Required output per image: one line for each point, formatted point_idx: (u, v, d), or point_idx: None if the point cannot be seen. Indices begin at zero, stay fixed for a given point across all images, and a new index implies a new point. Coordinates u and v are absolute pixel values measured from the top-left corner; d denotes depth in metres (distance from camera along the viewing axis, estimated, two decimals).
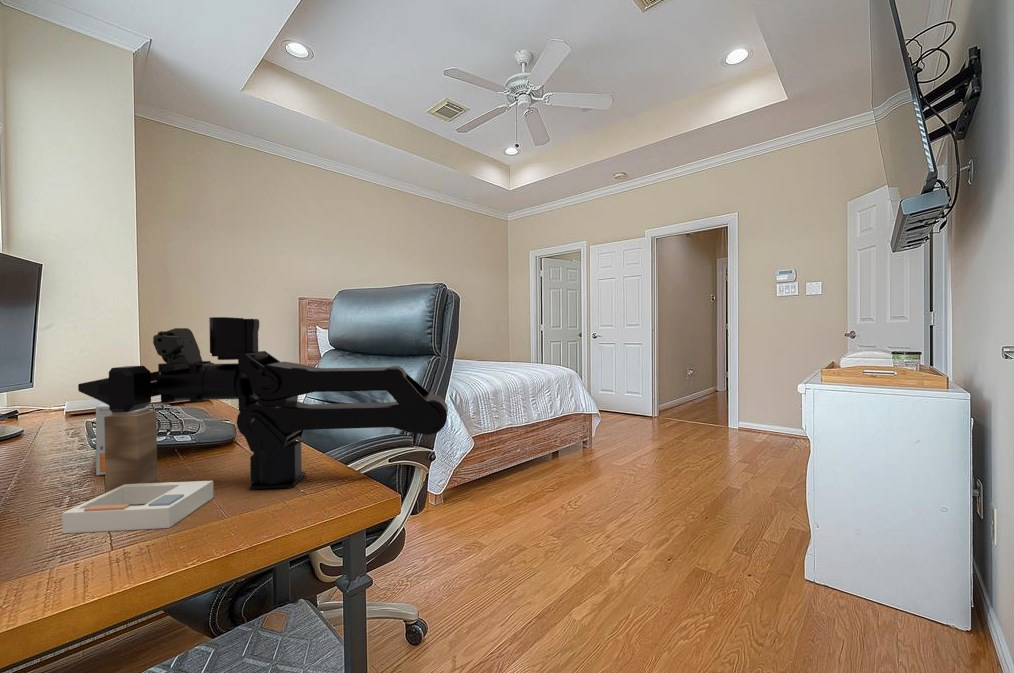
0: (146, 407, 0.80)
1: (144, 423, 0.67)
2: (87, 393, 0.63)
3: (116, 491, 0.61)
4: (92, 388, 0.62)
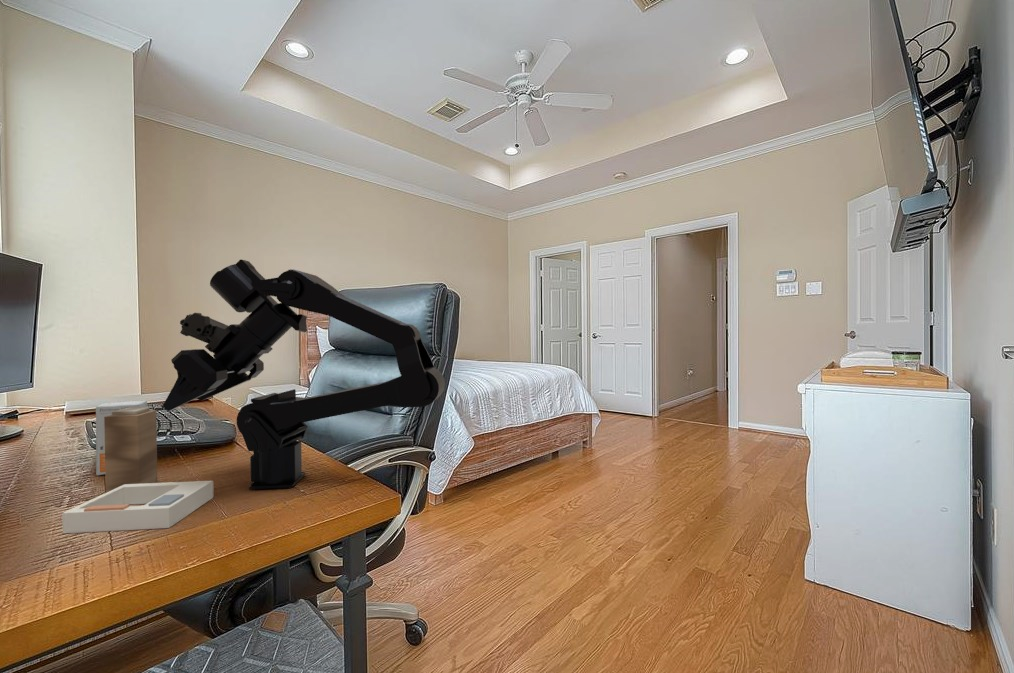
0: (146, 407, 0.80)
1: (144, 423, 0.67)
2: (175, 405, 0.63)
3: (116, 491, 0.61)
4: (175, 397, 0.63)
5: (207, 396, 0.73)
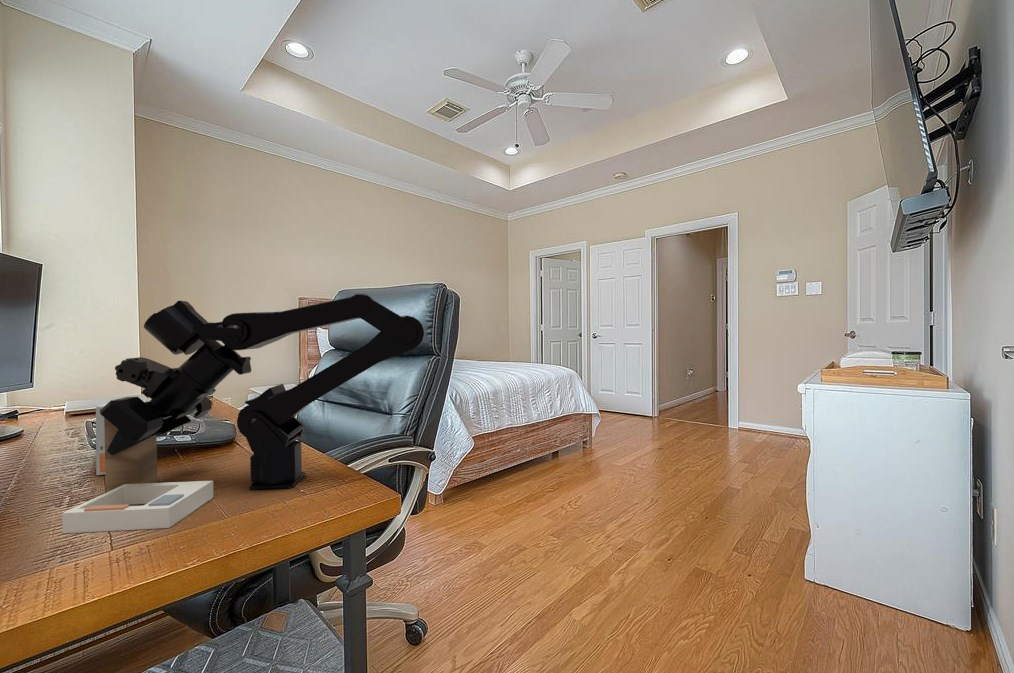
0: None
1: None
2: (119, 449, 0.64)
3: (116, 491, 0.61)
4: (119, 442, 0.64)
5: None
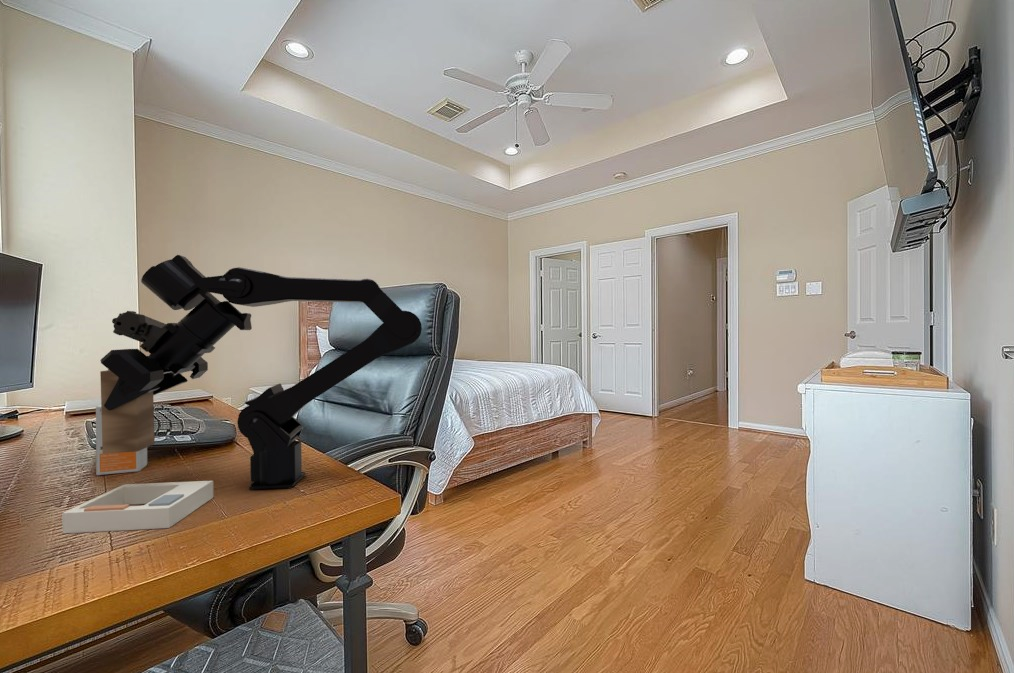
0: None
1: None
2: (117, 404, 0.63)
3: (116, 491, 0.61)
4: (117, 397, 0.63)
5: None
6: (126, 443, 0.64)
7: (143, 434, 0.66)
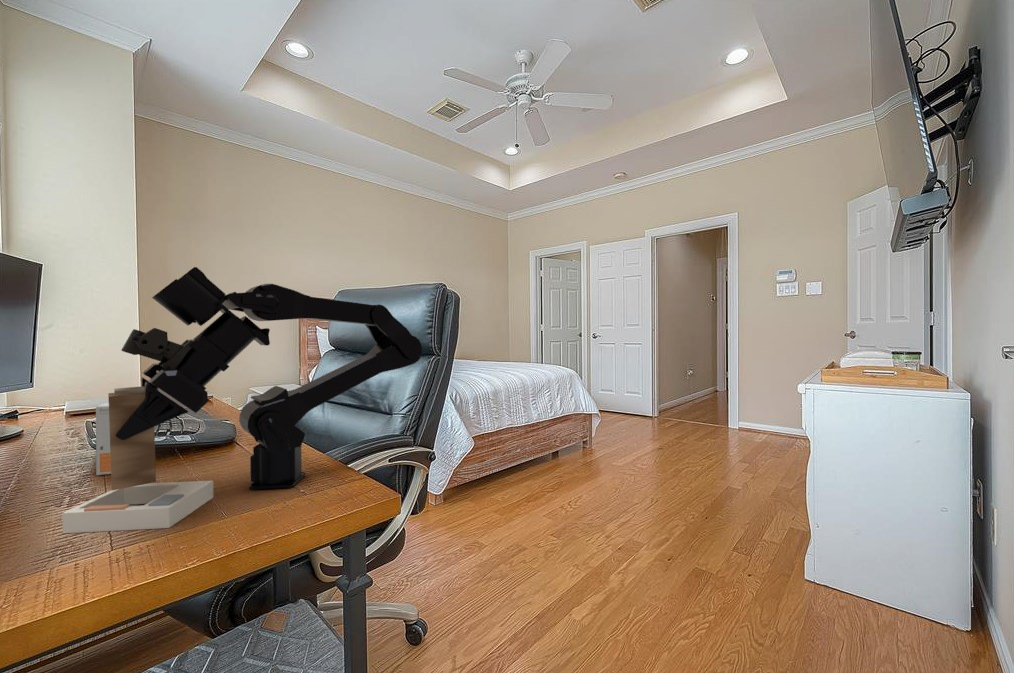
0: None
1: None
2: (136, 432, 0.56)
3: (116, 491, 0.61)
4: (136, 424, 0.56)
5: None
6: (141, 475, 0.57)
7: None
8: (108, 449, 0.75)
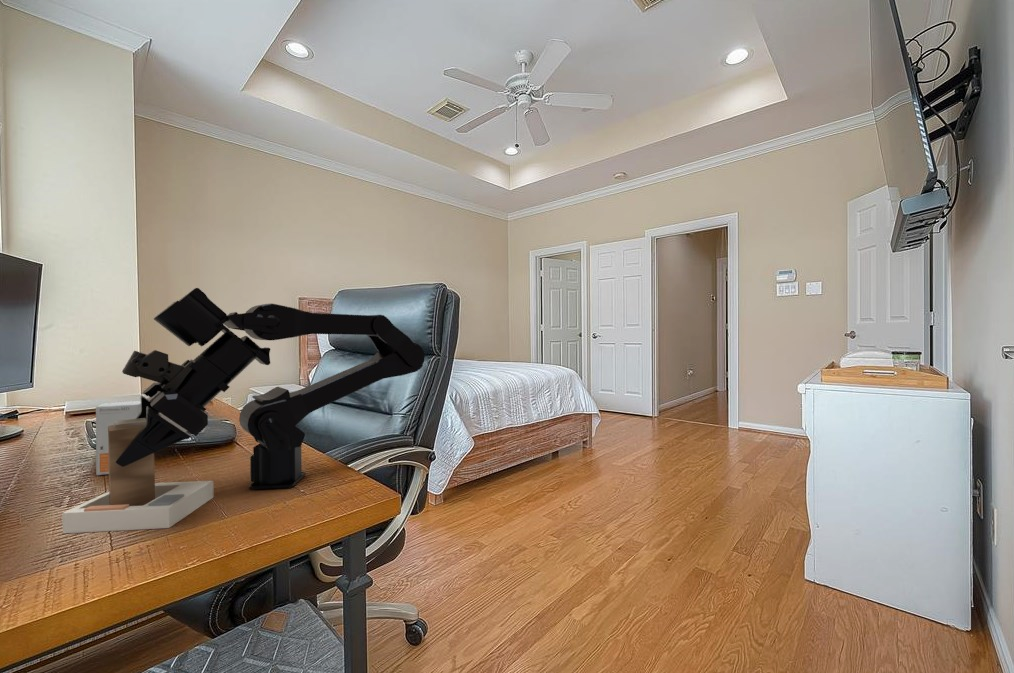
0: None
1: None
2: (136, 458, 0.55)
3: None
4: (137, 450, 0.55)
5: None
6: None
7: None
8: None
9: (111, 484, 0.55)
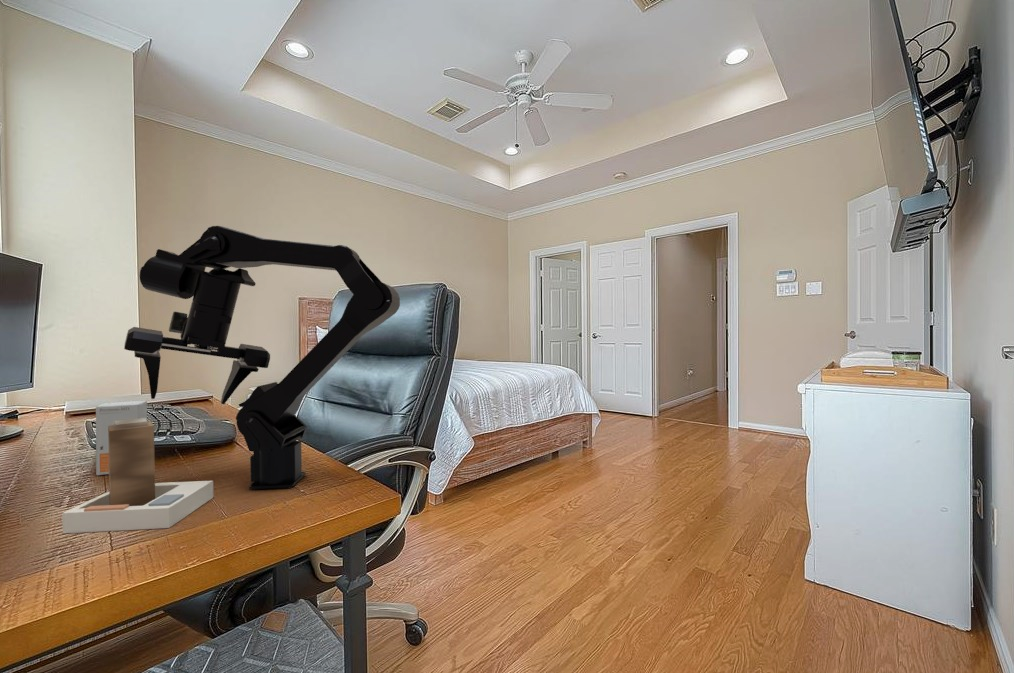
0: (146, 407, 0.80)
1: None
2: (150, 389, 0.66)
3: None
4: None
5: (223, 396, 0.72)
6: None
7: None
8: (108, 449, 0.75)
9: (111, 484, 0.55)
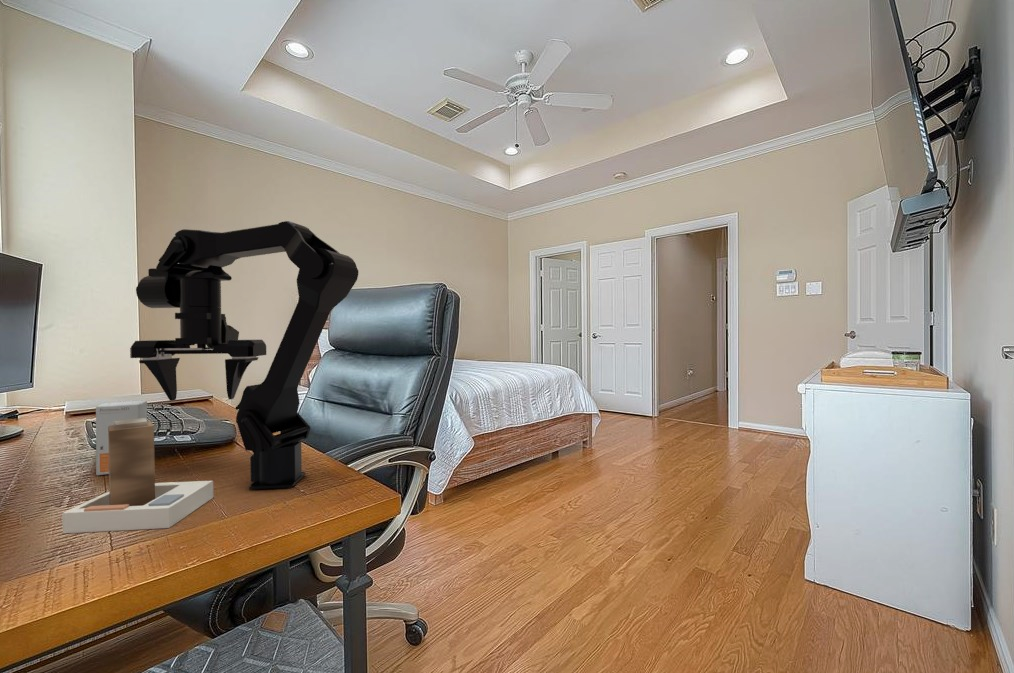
0: (146, 407, 0.80)
1: None
2: (165, 391, 0.72)
3: None
4: None
5: None
6: None
7: None
8: (108, 449, 0.75)
9: (111, 484, 0.55)
